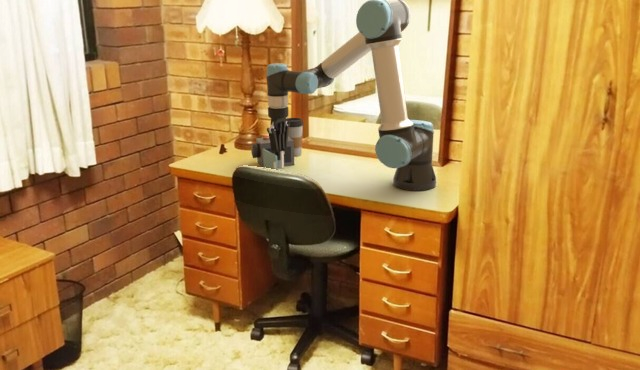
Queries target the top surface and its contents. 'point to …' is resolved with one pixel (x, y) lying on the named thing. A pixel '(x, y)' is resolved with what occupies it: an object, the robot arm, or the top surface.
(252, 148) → the camera body
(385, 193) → the top surface
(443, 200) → the top surface
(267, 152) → the side door
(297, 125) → the coffee cup
